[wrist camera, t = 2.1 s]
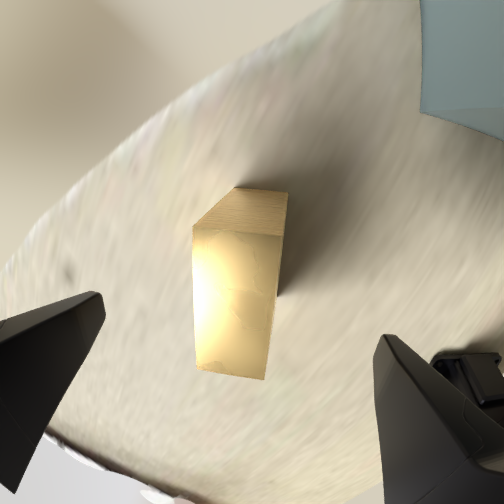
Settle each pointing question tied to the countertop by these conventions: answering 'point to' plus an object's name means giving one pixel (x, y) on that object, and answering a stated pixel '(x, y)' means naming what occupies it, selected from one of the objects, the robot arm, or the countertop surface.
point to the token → (237, 280)
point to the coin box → (464, 63)
